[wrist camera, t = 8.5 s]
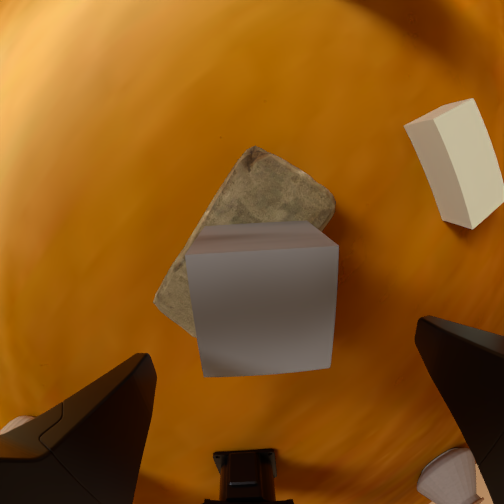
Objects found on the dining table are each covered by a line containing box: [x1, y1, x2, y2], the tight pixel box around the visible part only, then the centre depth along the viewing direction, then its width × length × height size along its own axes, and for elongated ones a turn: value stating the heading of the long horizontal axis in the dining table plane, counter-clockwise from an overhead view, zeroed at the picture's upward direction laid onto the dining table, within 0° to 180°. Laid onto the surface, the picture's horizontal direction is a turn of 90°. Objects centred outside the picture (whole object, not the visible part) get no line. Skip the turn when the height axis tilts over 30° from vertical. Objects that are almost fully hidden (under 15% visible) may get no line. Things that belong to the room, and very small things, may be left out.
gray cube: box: [185, 221, 339, 377], centre depth 12 cm, size 5×5×5 cm
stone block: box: [153, 146, 336, 338], centre depth 17 cm, size 6×12×5 cm, turn 147°
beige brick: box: [404, 98, 504, 230], centre depth 16 cm, size 8×5×4 cm, turn 31°
